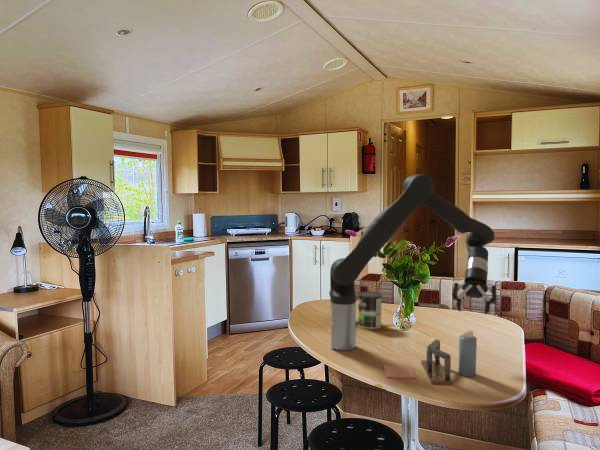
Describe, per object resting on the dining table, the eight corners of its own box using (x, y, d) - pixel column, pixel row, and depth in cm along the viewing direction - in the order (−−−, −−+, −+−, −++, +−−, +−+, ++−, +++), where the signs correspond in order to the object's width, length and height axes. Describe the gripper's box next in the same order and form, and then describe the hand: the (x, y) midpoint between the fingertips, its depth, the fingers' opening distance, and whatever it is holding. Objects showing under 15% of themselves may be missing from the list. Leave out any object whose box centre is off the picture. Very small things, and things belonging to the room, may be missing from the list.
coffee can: (365, 330, 196) (365, 297, 195) (353, 324, 206) (353, 292, 205) (386, 327, 201) (386, 295, 200) (373, 321, 210) (373, 290, 209)
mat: (387, 377, 147) (387, 376, 147) (383, 365, 157) (383, 364, 157) (415, 378, 146) (416, 377, 146) (410, 366, 156) (410, 365, 156)
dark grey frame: (431, 384, 142) (432, 356, 141) (421, 363, 159) (421, 338, 158) (451, 384, 142) (452, 356, 141) (438, 363, 159) (439, 338, 158)
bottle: (461, 377, 147) (462, 333, 146) (456, 370, 152) (457, 328, 151) (477, 377, 147) (479, 334, 146) (473, 371, 152) (474, 329, 151)
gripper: (454, 265, 169) (449, 303, 159) (497, 267, 162) (494, 307, 153) (456, 277, 174) (451, 314, 164) (498, 279, 168) (495, 319, 158)
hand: (472, 311), depth 159 cm, fingers open, 8 cm apart
